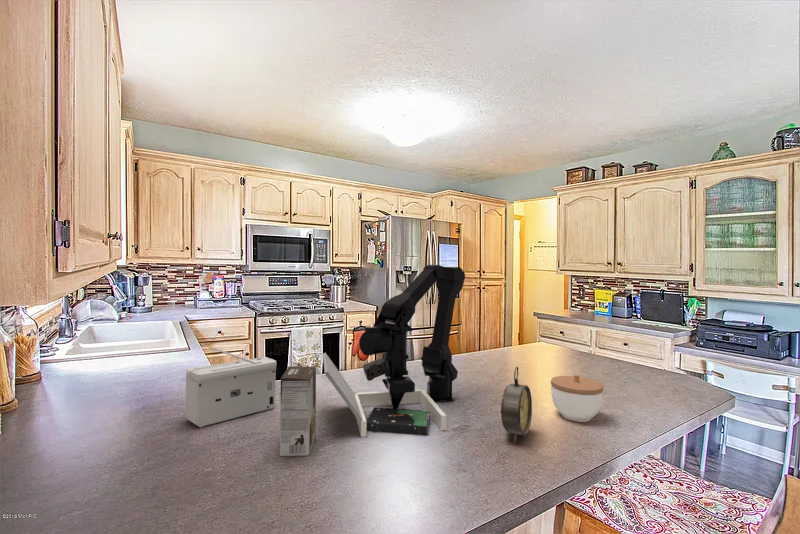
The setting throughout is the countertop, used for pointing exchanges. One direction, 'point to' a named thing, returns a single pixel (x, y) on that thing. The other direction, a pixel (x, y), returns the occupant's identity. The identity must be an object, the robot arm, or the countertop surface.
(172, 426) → the countertop surface
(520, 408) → the alarm clock
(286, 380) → the coffee box
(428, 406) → the beige bent panel frame
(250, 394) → the stereo radio cassette player
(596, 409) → the lidded bowl
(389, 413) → the disk drive
